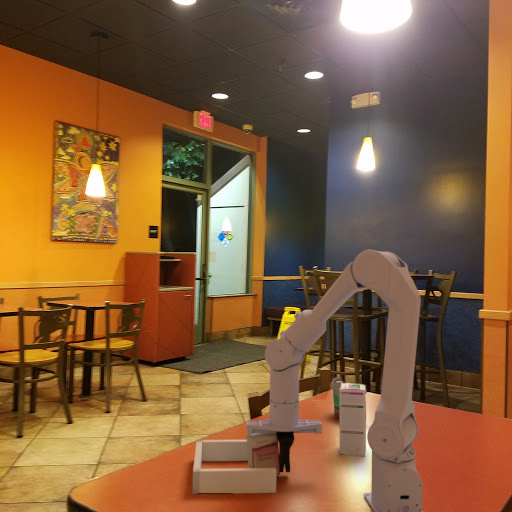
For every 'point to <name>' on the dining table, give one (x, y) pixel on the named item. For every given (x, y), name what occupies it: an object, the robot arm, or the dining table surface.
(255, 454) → the small box
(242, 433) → the dining table surface
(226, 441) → the u-shaped bracket
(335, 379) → the food container
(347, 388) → the syrup box
